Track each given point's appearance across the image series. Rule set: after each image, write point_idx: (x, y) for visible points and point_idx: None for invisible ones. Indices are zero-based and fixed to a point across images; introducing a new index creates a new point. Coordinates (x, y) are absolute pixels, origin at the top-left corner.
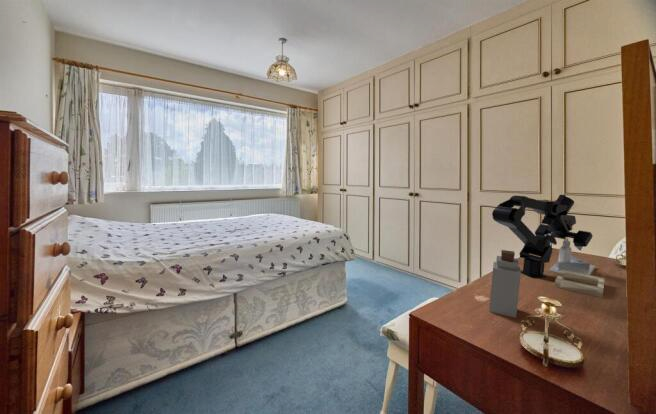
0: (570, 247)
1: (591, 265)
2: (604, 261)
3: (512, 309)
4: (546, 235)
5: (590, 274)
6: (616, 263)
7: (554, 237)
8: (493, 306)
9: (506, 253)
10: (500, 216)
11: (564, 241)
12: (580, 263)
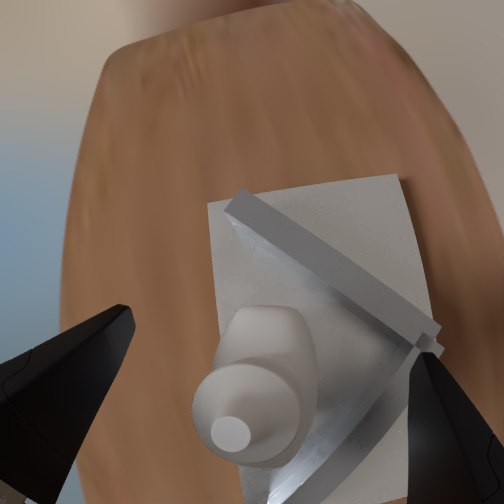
0: (307, 373)
1: (386, 192)
2: (349, 38)
3: None
4: (10, 501)
5: None
6: (386, 36)
7: (55, 365)
8: None
9: None
10: None
11: (224, 456)
12: (401, 410)
